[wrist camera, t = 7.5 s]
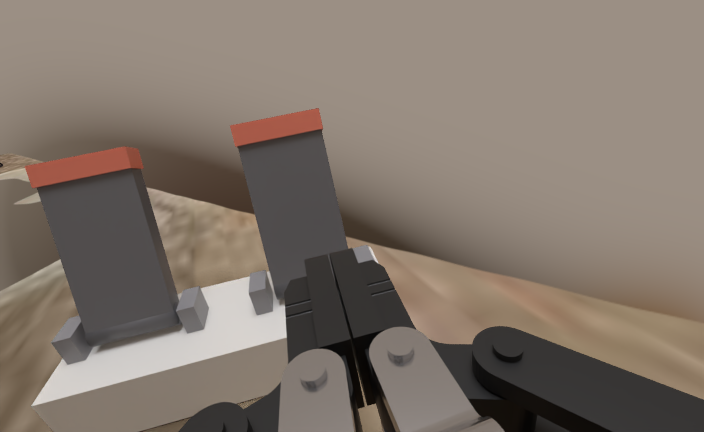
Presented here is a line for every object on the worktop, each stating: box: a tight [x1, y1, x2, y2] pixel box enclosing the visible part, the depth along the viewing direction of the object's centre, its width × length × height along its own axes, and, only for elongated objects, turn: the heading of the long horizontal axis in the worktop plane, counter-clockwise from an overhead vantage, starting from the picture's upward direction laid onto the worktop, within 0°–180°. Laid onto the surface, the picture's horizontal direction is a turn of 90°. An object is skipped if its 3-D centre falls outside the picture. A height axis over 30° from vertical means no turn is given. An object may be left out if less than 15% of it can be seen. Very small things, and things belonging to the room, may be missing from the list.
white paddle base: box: [31, 245, 379, 432], centre depth 23 cm, size 20×7×6 cm, turn 102°
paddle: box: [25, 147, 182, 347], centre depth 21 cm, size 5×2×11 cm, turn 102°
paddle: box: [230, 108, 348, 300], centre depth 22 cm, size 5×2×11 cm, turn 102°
